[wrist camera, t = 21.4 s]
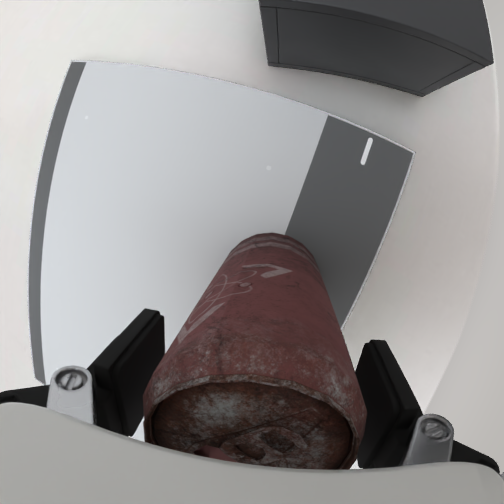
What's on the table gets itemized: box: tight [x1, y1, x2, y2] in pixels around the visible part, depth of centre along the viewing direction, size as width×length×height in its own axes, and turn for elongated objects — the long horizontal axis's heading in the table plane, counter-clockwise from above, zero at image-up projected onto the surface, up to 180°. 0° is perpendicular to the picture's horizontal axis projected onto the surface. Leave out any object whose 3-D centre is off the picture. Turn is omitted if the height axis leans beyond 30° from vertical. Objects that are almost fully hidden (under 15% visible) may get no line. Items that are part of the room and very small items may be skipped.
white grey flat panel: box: [28, 60, 416, 442], centre depth 21 cm, size 32×26×1 cm
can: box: [143, 232, 367, 470], centre depth 13 cm, size 6×6×14 cm
